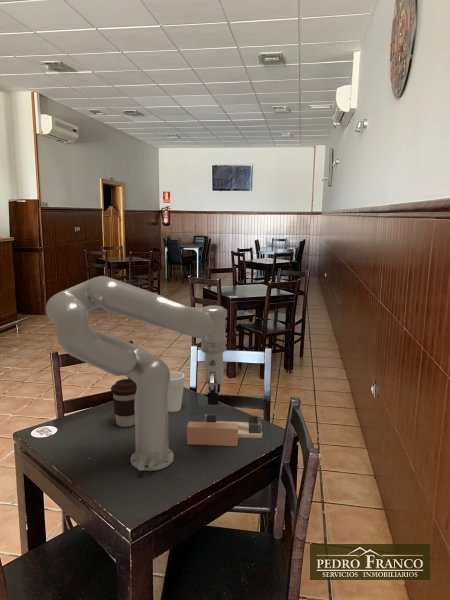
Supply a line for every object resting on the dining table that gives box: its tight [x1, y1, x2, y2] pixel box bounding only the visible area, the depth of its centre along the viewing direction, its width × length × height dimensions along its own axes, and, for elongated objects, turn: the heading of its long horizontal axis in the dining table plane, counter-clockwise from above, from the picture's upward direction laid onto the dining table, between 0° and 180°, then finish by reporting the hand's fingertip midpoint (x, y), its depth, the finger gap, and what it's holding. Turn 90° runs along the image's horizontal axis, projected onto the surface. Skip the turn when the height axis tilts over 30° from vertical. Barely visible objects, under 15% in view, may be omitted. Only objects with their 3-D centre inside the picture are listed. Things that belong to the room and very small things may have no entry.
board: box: [202, 413, 263, 439], centre depth 149 cm, size 9×20×4 cm, turn 88°
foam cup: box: [168, 371, 186, 413], centre depth 166 cm, size 10×9×13 cm
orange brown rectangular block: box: [186, 421, 239, 447], centre depth 142 cm, size 4×16×6 cm, turn 87°
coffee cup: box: [110, 378, 137, 428], centre depth 154 cm, size 10×10×15 cm
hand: (214, 398), depth 140 cm, fingers open, 9 cm apart
